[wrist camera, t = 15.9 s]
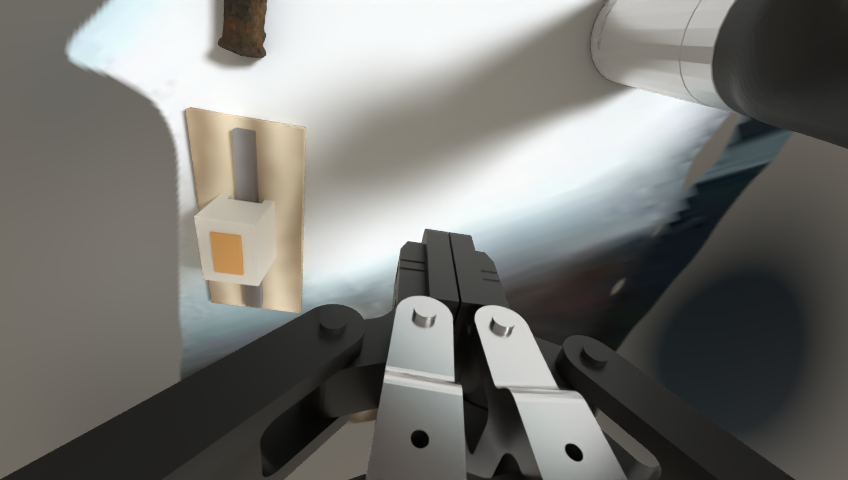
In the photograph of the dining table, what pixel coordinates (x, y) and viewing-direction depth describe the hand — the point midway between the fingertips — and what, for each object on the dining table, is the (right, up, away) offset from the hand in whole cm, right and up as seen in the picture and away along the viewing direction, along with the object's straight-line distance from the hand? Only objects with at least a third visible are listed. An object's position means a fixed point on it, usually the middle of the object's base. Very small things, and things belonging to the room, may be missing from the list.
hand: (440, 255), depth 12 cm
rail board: (-22, +3, +34) cm, 40 cm away
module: (-22, +2, +33) cm, 39 cm away
